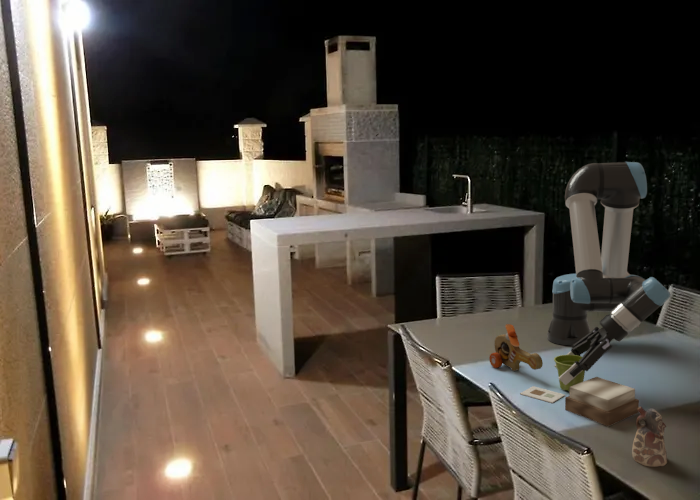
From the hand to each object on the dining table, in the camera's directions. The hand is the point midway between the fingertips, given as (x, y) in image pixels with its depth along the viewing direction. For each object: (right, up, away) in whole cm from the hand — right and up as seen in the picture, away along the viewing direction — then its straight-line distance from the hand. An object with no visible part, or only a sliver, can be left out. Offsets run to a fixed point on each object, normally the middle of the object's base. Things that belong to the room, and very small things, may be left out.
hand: (559, 375), depth 185 cm
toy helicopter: (-9, -2, +16) cm, 18 cm away
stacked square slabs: (+6, -6, -16) cm, 18 cm away
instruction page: (-6, -5, -4) cm, 9 cm away
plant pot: (+3, -4, 0) cm, 5 cm away
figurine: (+6, -11, -42) cm, 44 cm away
